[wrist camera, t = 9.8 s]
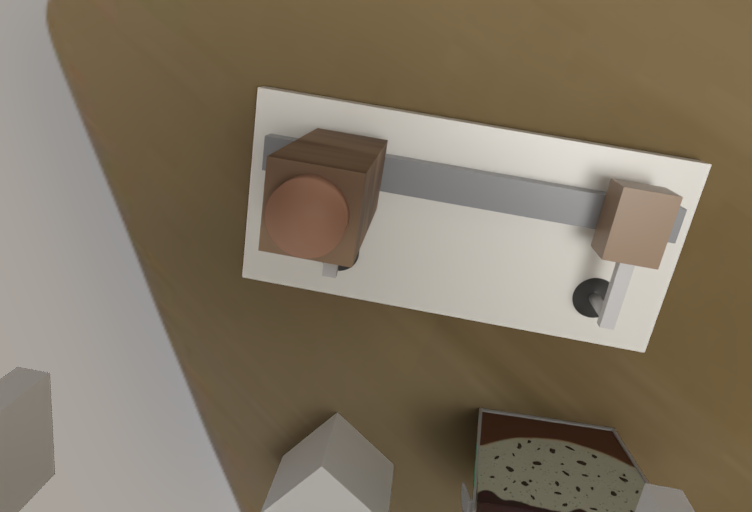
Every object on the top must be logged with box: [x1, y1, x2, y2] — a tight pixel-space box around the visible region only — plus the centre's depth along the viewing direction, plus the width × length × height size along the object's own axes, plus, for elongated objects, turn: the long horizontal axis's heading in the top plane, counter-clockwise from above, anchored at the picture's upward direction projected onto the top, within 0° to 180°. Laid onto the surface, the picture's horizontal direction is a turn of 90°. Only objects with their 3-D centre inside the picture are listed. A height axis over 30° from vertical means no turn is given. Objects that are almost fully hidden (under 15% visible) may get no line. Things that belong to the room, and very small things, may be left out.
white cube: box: [261, 412, 394, 512], centre depth 40 cm, size 6×6×6 cm
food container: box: [461, 408, 650, 512], centre depth 36 cm, size 12×6×10 cm, turn 84°
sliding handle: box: [258, 128, 388, 278], centre depth 29 cm, size 8×4×12 cm, turn 171°
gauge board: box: [242, 86, 711, 353], centre depth 34 cm, size 12×26×5 cm, turn 81°
